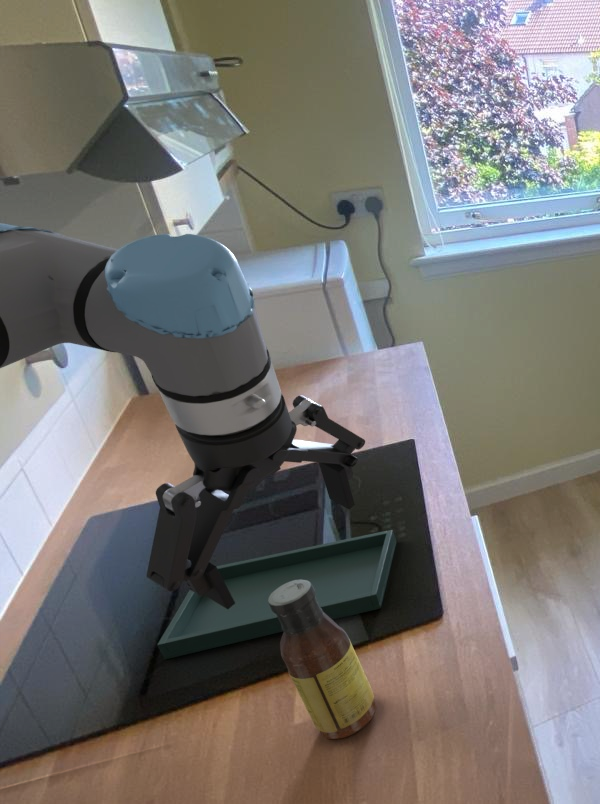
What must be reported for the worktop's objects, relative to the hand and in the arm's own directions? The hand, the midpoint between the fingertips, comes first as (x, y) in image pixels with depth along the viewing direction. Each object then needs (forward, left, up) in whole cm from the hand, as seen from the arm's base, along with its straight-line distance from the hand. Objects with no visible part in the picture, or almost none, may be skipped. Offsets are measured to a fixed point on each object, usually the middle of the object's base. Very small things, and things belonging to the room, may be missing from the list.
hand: (285, 547), depth 75 cm
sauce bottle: (-1, +1, -26) cm, 26 cm away
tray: (-13, +28, -26) cm, 41 cm away
